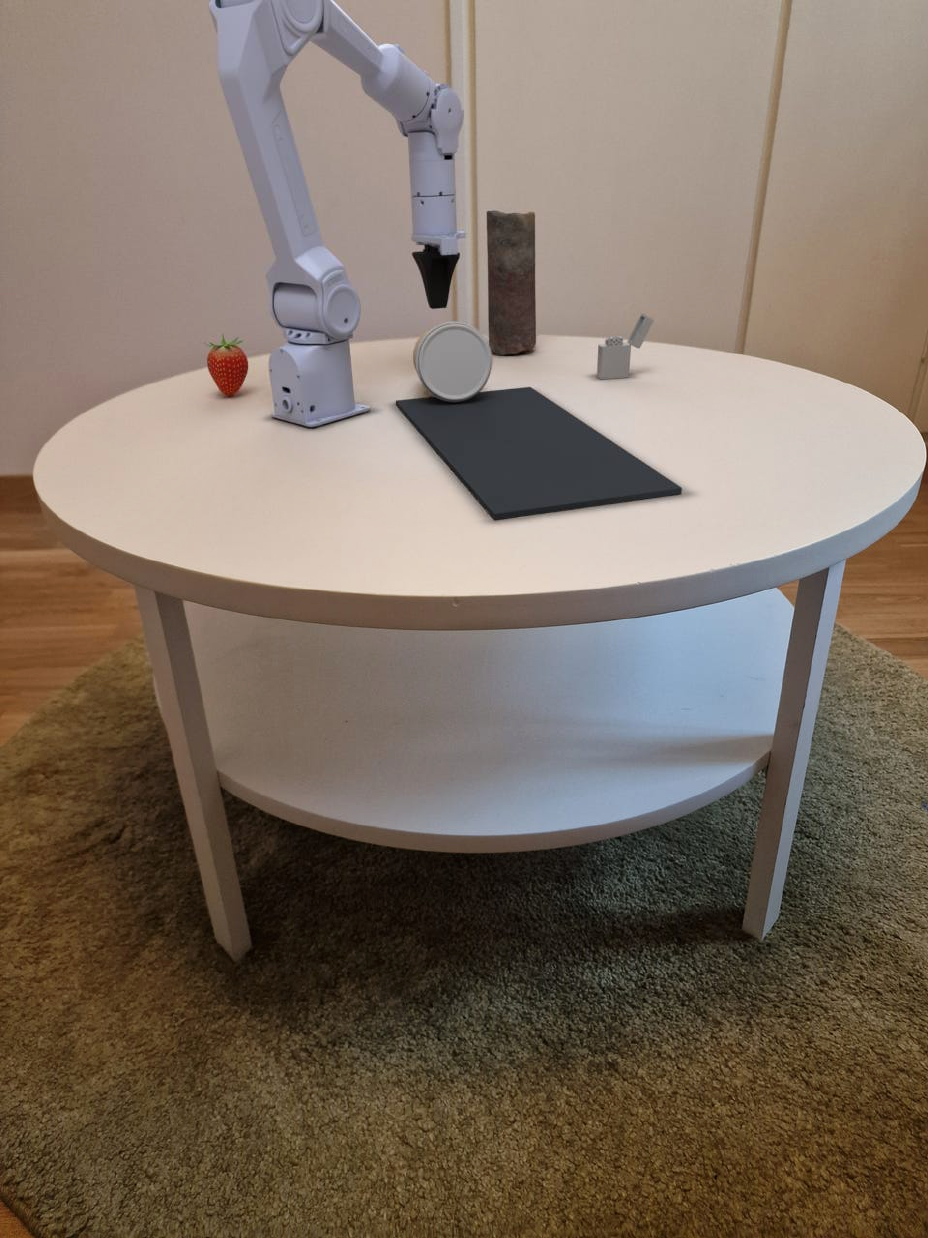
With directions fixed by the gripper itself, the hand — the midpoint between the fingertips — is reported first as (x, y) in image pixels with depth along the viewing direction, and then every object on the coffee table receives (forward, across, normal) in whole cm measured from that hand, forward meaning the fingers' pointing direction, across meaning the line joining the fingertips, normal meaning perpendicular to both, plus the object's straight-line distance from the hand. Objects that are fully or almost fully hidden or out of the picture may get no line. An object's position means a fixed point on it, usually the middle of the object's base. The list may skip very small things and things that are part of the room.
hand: (437, 307), depth 115 cm
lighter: (+10, -9, -24) cm, 27 cm away
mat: (+9, -32, 0) cm, 33 cm away
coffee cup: (+6, -5, +1) cm, 7 cm away
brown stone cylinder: (+10, +13, -15) cm, 22 cm away
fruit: (+9, +1, +28) cm, 30 cm away
